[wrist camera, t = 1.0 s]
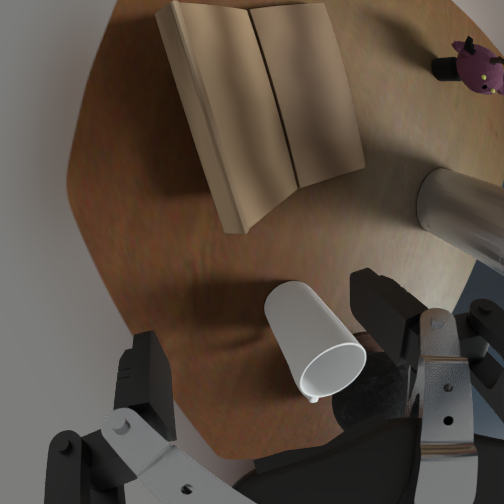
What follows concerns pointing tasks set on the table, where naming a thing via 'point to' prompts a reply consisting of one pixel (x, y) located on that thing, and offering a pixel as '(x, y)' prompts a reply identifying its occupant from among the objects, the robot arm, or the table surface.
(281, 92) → the fixed plank
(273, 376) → the table surface
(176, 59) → the board
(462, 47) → the figurine
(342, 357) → the mug
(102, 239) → the table surface
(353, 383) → the black sphere on base
